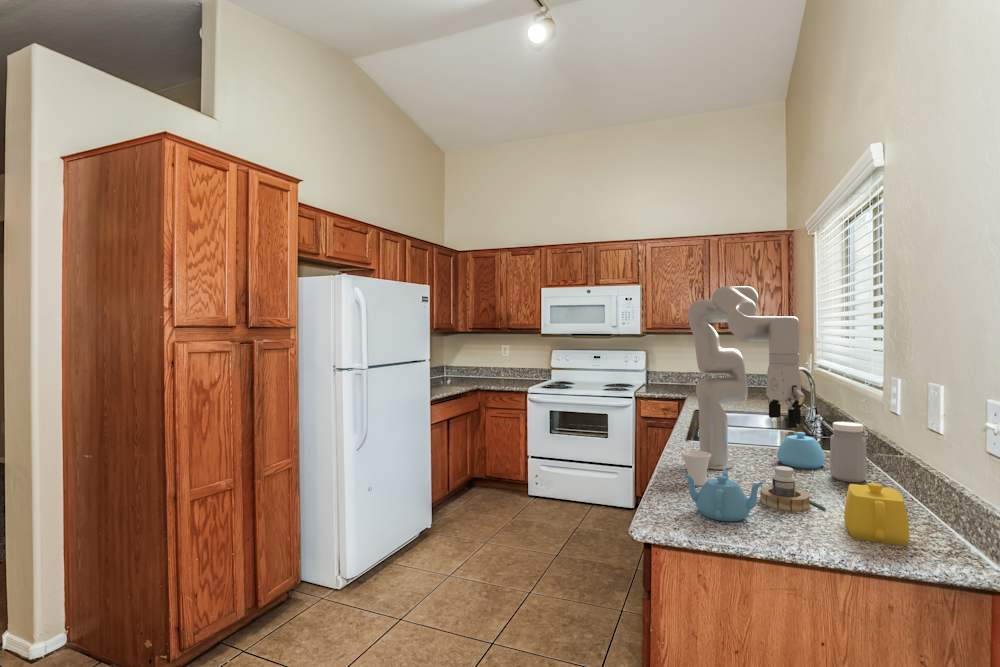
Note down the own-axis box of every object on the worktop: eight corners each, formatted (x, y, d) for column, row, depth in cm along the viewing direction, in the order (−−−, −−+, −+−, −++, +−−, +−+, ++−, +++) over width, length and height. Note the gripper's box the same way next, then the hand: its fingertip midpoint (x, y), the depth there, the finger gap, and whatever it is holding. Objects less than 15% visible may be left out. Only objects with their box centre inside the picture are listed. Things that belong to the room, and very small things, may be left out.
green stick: (795, 495, 154) (795, 493, 154) (798, 495, 154) (798, 493, 154) (823, 510, 141) (823, 508, 141) (826, 510, 141) (826, 507, 141)
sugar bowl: (768, 462, 192) (768, 430, 192) (795, 457, 199) (795, 427, 199) (807, 471, 179) (806, 438, 179) (834, 466, 185) (834, 434, 185)
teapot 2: (840, 514, 138) (840, 470, 138) (898, 522, 132) (898, 476, 132) (848, 541, 120) (848, 491, 120) (916, 552, 115) (915, 498, 114)
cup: (696, 478, 173) (695, 448, 172) (717, 485, 164) (717, 454, 164) (675, 481, 169) (674, 450, 169) (696, 489, 160) (696, 457, 160)
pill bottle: (775, 498, 151) (774, 464, 151) (797, 502, 148) (797, 467, 148) (770, 503, 147) (770, 468, 147) (793, 508, 143) (793, 471, 143)
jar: (842, 473, 176) (841, 420, 176) (873, 480, 168) (872, 424, 168) (823, 477, 172) (823, 422, 172) (854, 484, 163) (854, 427, 163)
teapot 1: (715, 527, 130) (715, 486, 130) (680, 507, 144) (680, 471, 144) (765, 521, 133) (765, 481, 133) (725, 502, 148) (725, 466, 148)
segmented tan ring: (752, 496, 153) (752, 486, 153) (792, 496, 153) (792, 485, 153) (775, 511, 141) (775, 500, 141) (818, 510, 141) (818, 499, 141)
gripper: (755, 358, 156) (755, 415, 156) (788, 362, 138) (788, 426, 139) (779, 358, 156) (780, 415, 156) (816, 362, 139) (816, 426, 139)
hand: (784, 420), depth 147 cm, fingers open, 9 cm apart
